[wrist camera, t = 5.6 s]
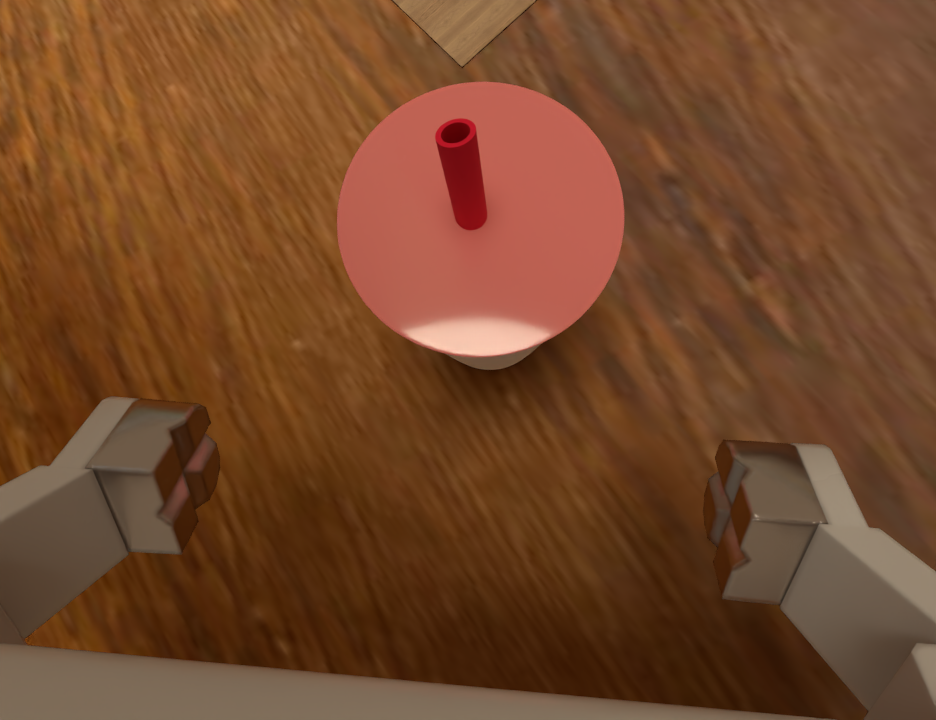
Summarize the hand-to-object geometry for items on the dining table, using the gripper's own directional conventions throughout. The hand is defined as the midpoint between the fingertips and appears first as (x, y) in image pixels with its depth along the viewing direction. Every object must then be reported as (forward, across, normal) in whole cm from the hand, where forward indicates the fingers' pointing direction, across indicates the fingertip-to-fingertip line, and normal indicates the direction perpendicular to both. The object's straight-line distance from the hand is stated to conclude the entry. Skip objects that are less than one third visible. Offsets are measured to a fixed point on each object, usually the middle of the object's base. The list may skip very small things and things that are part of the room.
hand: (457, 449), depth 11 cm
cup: (+10, 0, +4) cm, 11 cm away
